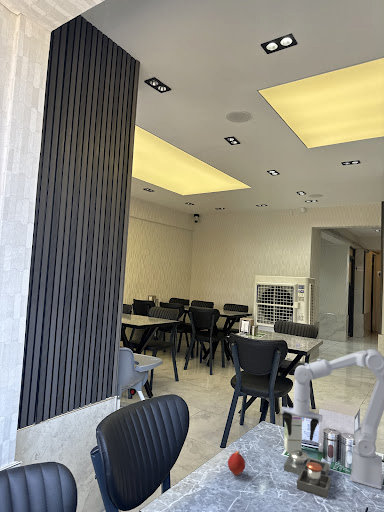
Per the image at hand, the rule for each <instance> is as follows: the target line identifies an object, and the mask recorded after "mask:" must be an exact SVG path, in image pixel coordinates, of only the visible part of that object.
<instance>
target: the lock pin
mask: <svg viewBox="0 0 384 512" xmlns="http://www.w3.org/2000/svg"><path fill="white" fill-rule="evenodd" d="M307 468H308V476H307V483H309V484H312V485H315V486H319V487H320V475H321V470H322V466H321V465H320V464H318V463H315V462H308V463H307Z"/></svg>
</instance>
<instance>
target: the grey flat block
mask: <svg viewBox="0 0 384 512" xmlns="http://www.w3.org/2000/svg"><path fill="white" fill-rule="evenodd" d="M308 462H315V463H318V464H320V465H321V466H322V470H321V474H323V475H326V476H329V473H330V467H331V466H330V465H331V464H330V463H328V462H325V461H321V460H320V459H316V458H314V457H310V456H309V454H307V453H306V452H304V451H302V450H301V451H300V450H297V451H292V452H291V453H289V455H288V457H287V458H286V460H285V462H284V463H283V471H286V472H289V473H292V474H294V475H295V474H296V475H298V476H299V475H300V473H301V471H302V469H305V470H308V468H307V463H308Z"/></svg>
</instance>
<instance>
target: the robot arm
mask: <svg viewBox="0 0 384 512" xmlns="http://www.w3.org/2000/svg"><path fill="white" fill-rule="evenodd" d="M316 360H317V361H313V362H310V363H308V362H305V363H304V364H301V365H298V366H297V367H296V368H295V369H294V370H295V371H294V375H293V376H294V385H293V407H286V406H282V407H280V414H283V416H282V417H283V420H284V424H285V423H286V426H287V430H288V435H289V436H290V435H291V433H292V415H294V416H299V417H302V419H303V418H304V419H309V420H310V422H309V427H310V428H309V430H310V433H309V441H310V442H312V441H313V439H314V434H315V431H316V430H317V429H316V428H317V426H318V424H319V422H320V423H322V422H323V414H318V413H315V412H313V411H310V409H311V407H310V405H311V387H310V381H311V380H316V379H320V378H323V377H327V376H330V375H331V374H332V373H333V371H334V370H338V369H342V368H347V367H351V366H358V367H362V368H366V367H367V368H368V369H369V370H370V371H371V372H372V373H373V375H374V377H375V378H376V381H375V384H374V387H373V390H372V392H371V396H370V399H369V401H368V404H367V407H366V410H365V413H364V416H363V419H362V421H361V422H360V423H359V426H358V427H357V428H356V429H355V430H354V431H353V434H352V435H353V436H352V438H353V440H354V443H355V444H354V446H353V447H352V458H351V459H352V461H351V462H352V463H351V465H352V466H351V467H352V468H351V472H350V477H349V481H352V482H354V483H356V484H360V485H361V484H362V485H364V486H367V487H368V486H369V487H372V488H374V489H377V490H378V489H379V490H381V489H382V488H383V485H382V483H383V480H384V475H383V456H380V455H378V454H377V453H376V451H377V446H376V442H377V439H378V438H377V435H378V428H379V427H380V423H381V420H382V418H383V417H382V416H383V414H384V355H383V354H382V353H381V352H380V351H379V350H377V349H375V348H369V349H366V350H364V349H363V350H358V351H355V352H352V353H349V354H346V355H343V356H341V357H337V358H334V359H333V360H332V359H331V360H330V361H329V360H327V359H326V358H325V359H324V358H323V359H321V358H317V359H316ZM365 365H366V366H365Z"/></svg>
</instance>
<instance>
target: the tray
mask: <svg viewBox="0 0 384 512" xmlns="http://www.w3.org/2000/svg"><path fill="white" fill-rule="evenodd" d="M307 476H308V470H305V469H302V471H301V473H300V475H298V477H297V480H296V490H299V491H301V492H305V493H308V494H311V495H315V496H318V497H322V498H324V499H328V495H329V492H330V489H331V485H332V482H331V481H332V477H331V476H329V475H328V476H326V475H323V474H321V475H320V487H319V486H315V485H312V484H309V483H307Z"/></svg>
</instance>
